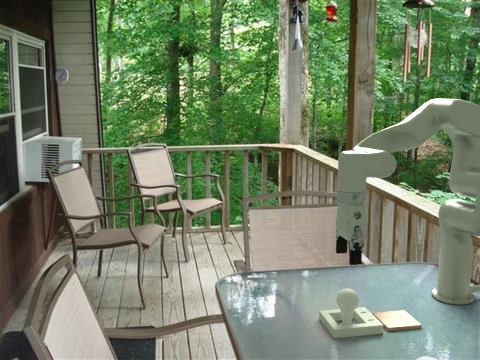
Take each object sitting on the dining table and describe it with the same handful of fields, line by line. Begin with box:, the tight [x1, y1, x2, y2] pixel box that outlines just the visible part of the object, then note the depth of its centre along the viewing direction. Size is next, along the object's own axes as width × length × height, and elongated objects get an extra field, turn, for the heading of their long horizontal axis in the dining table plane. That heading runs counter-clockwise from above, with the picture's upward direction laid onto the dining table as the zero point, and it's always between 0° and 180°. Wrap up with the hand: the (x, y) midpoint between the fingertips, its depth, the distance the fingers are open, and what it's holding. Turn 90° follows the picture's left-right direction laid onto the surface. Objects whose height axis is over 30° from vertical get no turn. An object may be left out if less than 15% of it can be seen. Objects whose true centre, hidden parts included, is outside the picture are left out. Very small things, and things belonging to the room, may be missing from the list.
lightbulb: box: [335, 288, 360, 325], centre depth 145 cm, size 6×6×11 cm
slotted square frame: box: [318, 306, 384, 339], centre depth 146 cm, size 14×12×3 cm
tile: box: [371, 309, 423, 332], centre depth 148 cm, size 10×10×1 cm
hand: (348, 258), depth 142 cm, fingers open, 9 cm apart
